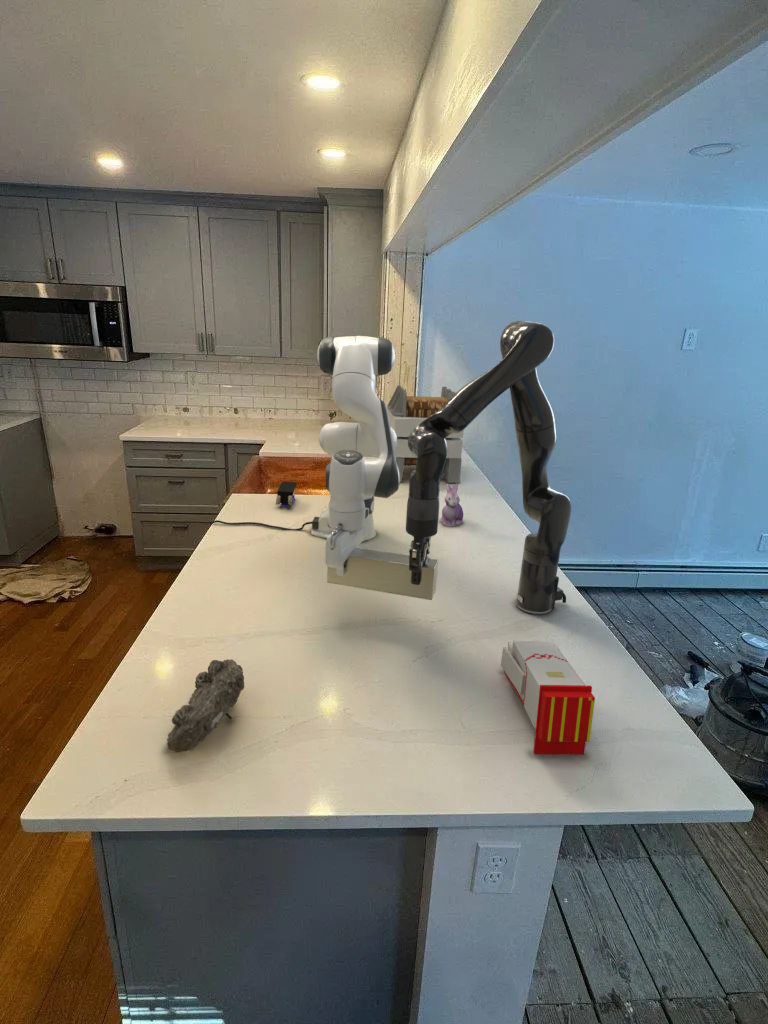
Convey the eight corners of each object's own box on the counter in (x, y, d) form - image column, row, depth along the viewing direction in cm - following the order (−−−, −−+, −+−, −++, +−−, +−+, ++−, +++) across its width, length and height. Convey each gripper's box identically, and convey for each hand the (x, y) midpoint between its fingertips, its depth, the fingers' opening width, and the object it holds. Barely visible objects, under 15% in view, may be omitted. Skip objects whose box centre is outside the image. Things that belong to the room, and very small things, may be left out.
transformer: (382, 463, 289) (386, 382, 275) (445, 464, 293) (451, 384, 279) (390, 482, 257) (394, 392, 243) (460, 483, 261) (468, 394, 247)
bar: (327, 582, 143) (327, 552, 140) (334, 573, 147) (334, 544, 145) (431, 600, 136) (434, 568, 133) (435, 590, 141) (438, 559, 138)
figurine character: (293, 513, 218) (297, 497, 231) (292, 495, 215) (297, 480, 228) (275, 513, 218) (281, 496, 231) (274, 495, 214) (280, 479, 228)
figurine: (448, 528, 206) (452, 489, 201) (433, 519, 215) (436, 481, 210) (470, 525, 210) (473, 486, 205) (454, 516, 219) (457, 479, 214)
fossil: (192, 660, 117) (244, 628, 112) (224, 691, 120) (276, 661, 115) (142, 746, 98) (202, 712, 93) (182, 779, 101) (242, 748, 96)
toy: (549, 624, 127) (604, 693, 98) (544, 678, 130) (596, 762, 100) (496, 622, 127) (535, 692, 97) (491, 677, 129) (528, 761, 100)
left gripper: (344, 534, 128) (343, 589, 133) (371, 506, 147) (369, 555, 151) (318, 530, 130) (318, 584, 134) (348, 503, 148) (347, 552, 153)
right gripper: (432, 526, 125) (427, 594, 131) (443, 506, 138) (438, 568, 144) (399, 521, 127) (396, 589, 133) (413, 502, 140) (410, 564, 146)
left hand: (345, 569), depth 143 cm, fingers closed on bar, 5 cm apart
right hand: (418, 578), depth 138 cm, fingers closed on bar, 5 cm apart
